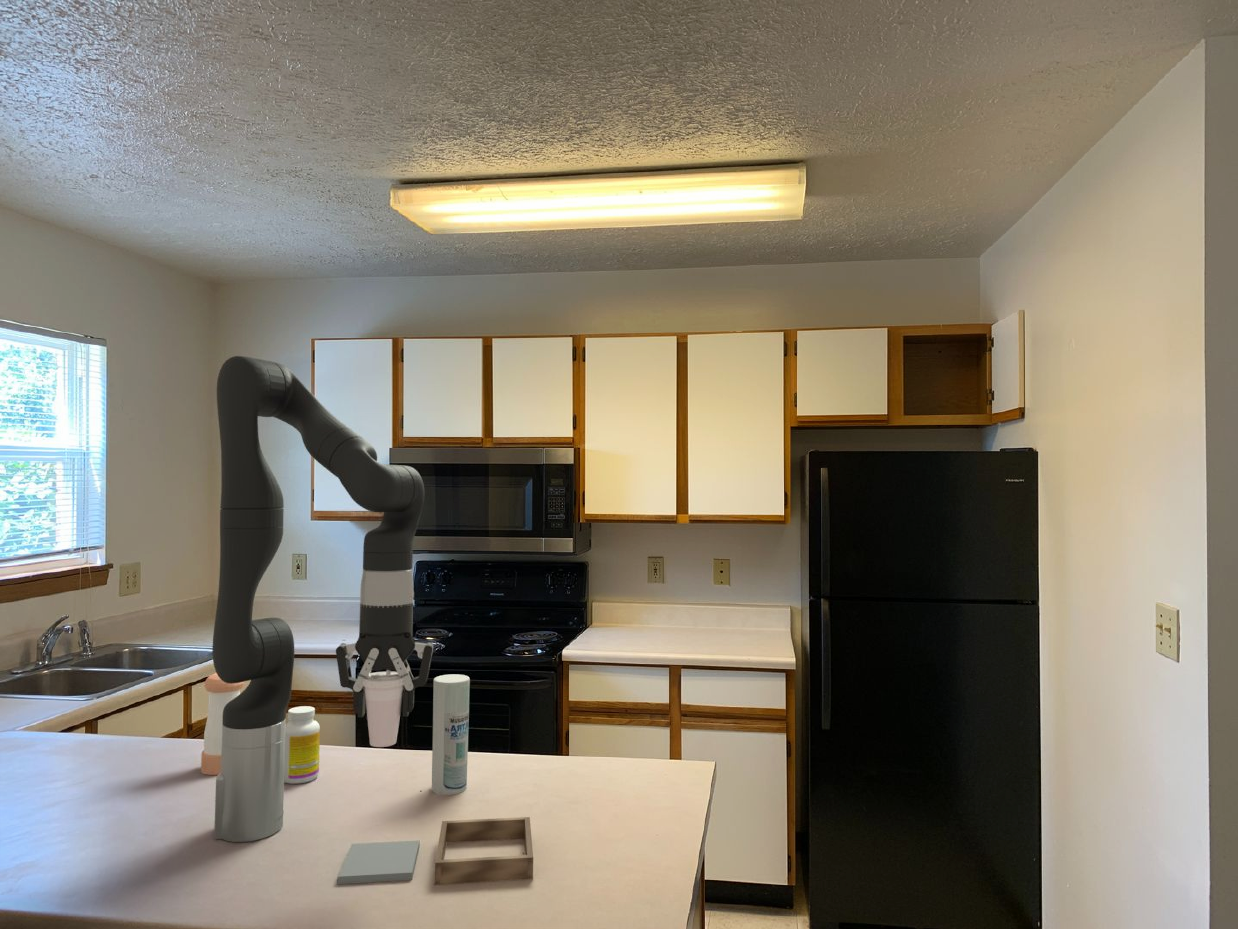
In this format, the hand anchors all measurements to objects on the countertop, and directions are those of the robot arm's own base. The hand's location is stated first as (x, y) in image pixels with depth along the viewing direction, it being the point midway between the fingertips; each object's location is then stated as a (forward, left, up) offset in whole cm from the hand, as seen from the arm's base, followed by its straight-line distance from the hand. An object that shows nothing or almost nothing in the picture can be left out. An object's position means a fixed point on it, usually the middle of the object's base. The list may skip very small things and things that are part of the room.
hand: (383, 715), depth 114 cm
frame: (+15, 0, -22) cm, 26 cm away
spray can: (+8, +28, -22) cm, 36 cm away
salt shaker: (-36, +43, -22) cm, 60 cm away
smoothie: (0, 0, -4) cm, 4 cm away
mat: (0, 0, -22) cm, 22 cm away
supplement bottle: (-20, +36, -22) cm, 46 cm away
